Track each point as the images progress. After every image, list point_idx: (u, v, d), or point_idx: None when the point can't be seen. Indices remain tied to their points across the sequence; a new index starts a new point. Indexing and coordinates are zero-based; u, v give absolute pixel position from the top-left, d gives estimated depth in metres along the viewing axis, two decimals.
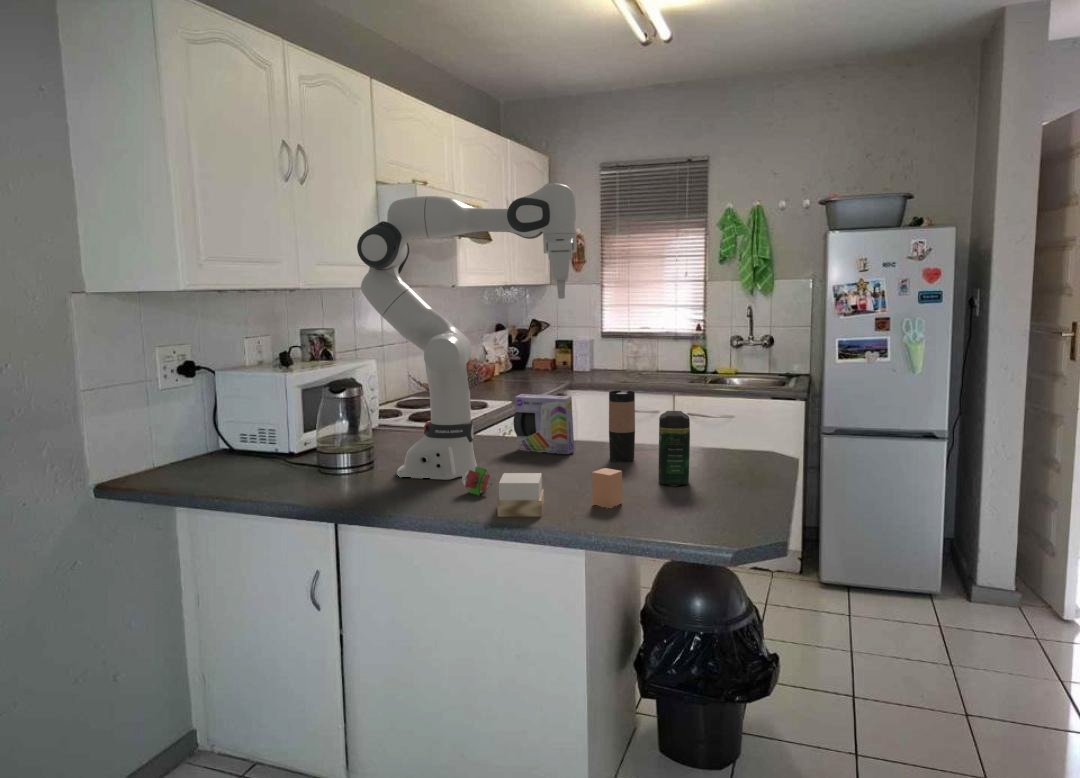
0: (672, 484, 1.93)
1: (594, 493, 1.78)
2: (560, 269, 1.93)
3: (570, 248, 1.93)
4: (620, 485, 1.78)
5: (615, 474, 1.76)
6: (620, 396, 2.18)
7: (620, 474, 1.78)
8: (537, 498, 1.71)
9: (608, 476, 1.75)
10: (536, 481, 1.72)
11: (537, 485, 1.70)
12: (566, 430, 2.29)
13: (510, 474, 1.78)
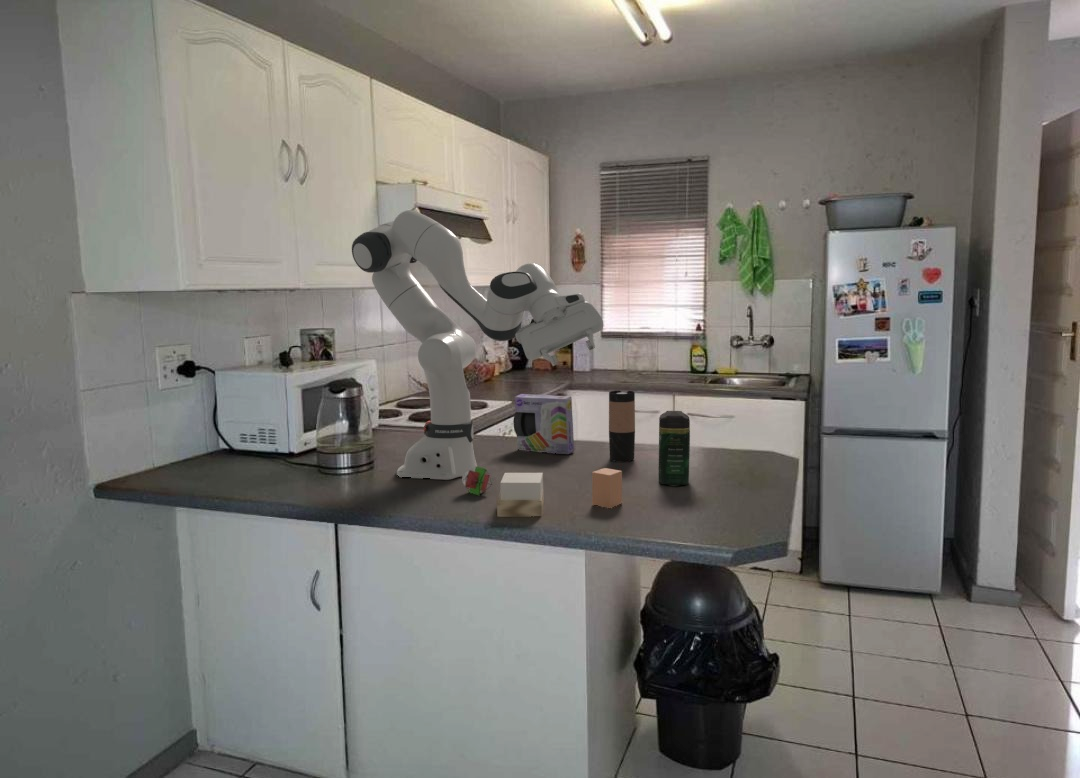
0: (672, 484, 1.93)
1: (594, 493, 1.78)
2: None
3: None
4: (620, 485, 1.78)
5: (615, 474, 1.76)
6: (620, 396, 2.18)
7: (620, 474, 1.78)
8: (538, 498, 1.71)
9: (608, 476, 1.75)
10: (537, 481, 1.72)
11: (539, 485, 1.70)
12: (566, 430, 2.29)
13: (511, 474, 1.78)
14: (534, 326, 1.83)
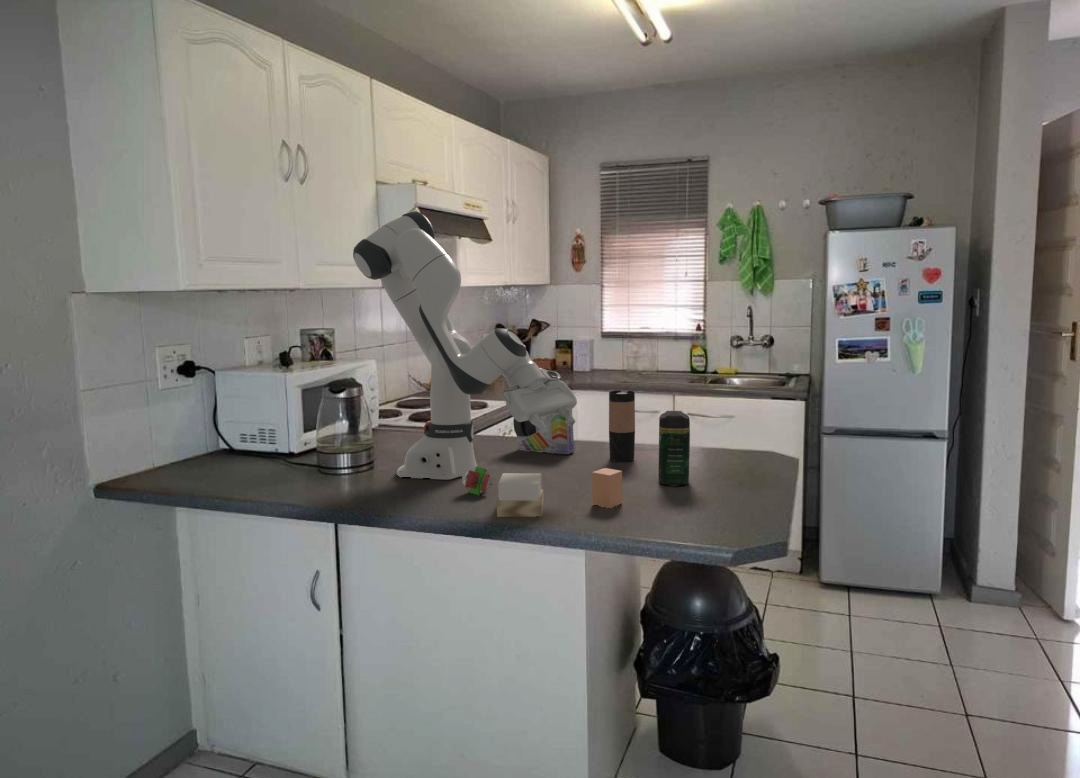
0: (672, 484, 1.93)
1: (594, 493, 1.78)
2: None
3: None
4: (620, 485, 1.78)
5: (615, 474, 1.76)
6: (620, 396, 2.18)
7: (620, 474, 1.78)
8: (536, 498, 1.71)
9: (608, 476, 1.75)
10: (535, 481, 1.71)
11: (536, 485, 1.70)
12: (566, 430, 2.29)
13: (509, 474, 1.78)
14: (523, 390, 1.83)
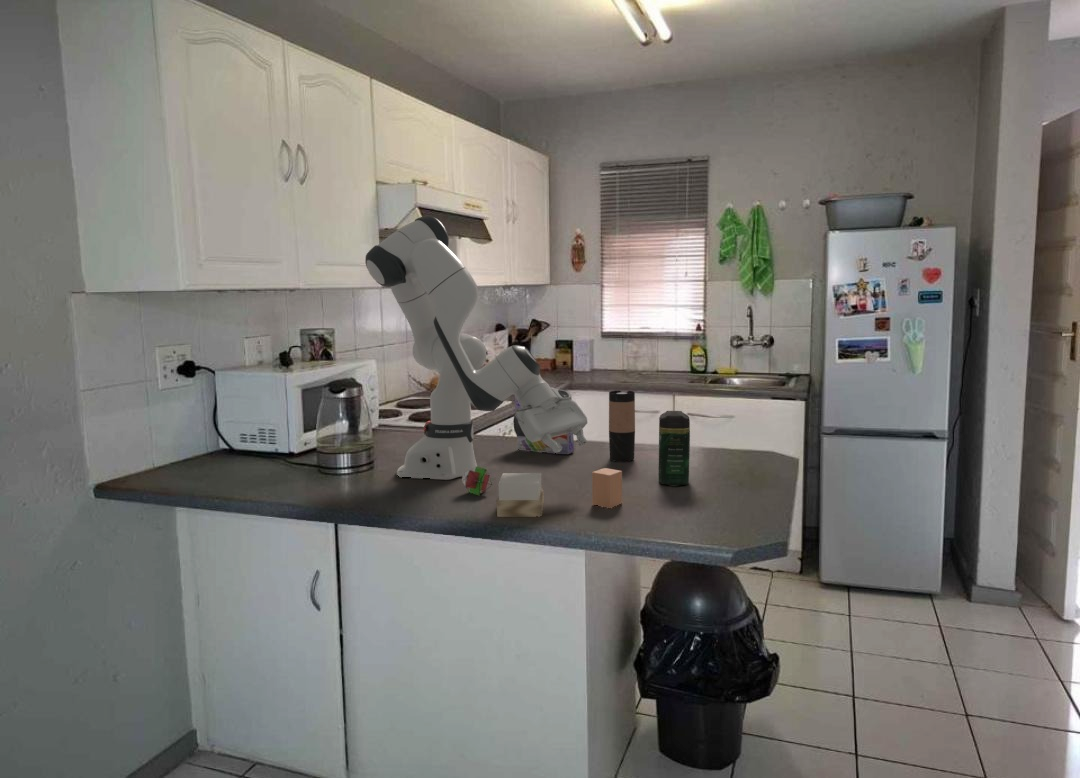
0: (672, 484, 1.93)
1: (594, 493, 1.78)
2: None
3: None
4: (620, 485, 1.78)
5: (615, 474, 1.76)
6: (620, 396, 2.18)
7: (620, 474, 1.78)
8: (537, 498, 1.71)
9: (608, 476, 1.75)
10: (536, 481, 1.71)
11: (537, 485, 1.70)
12: None
13: (509, 474, 1.78)
14: (535, 409, 1.82)
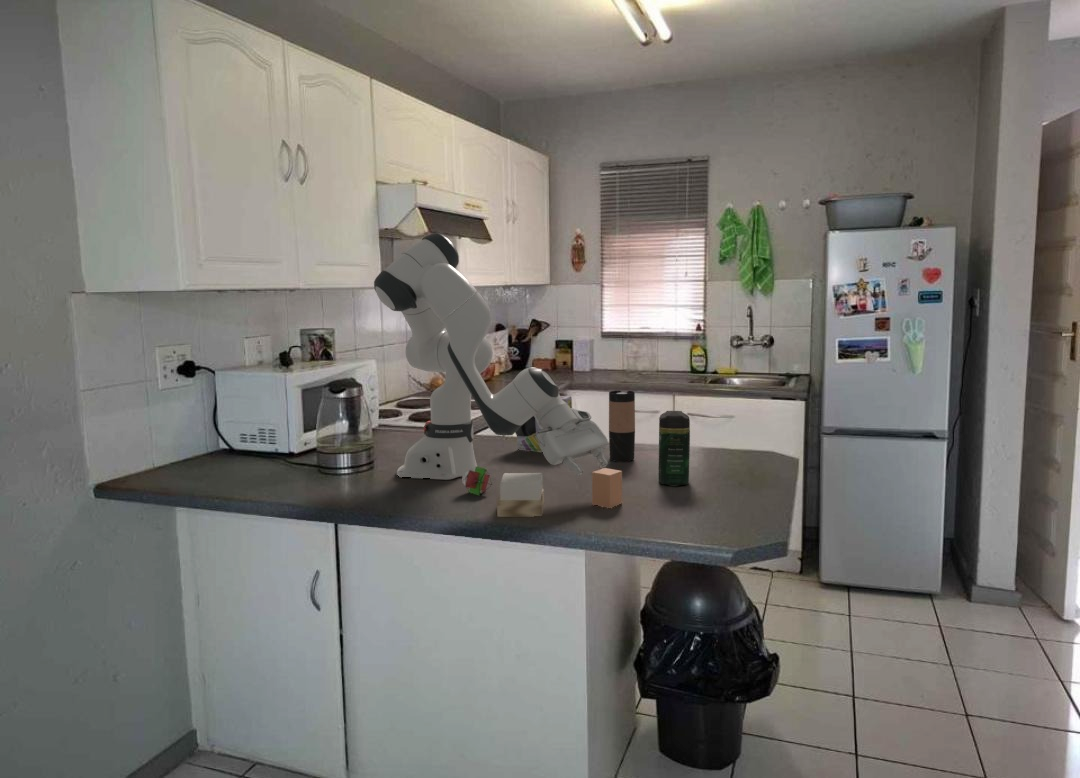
0: (672, 484, 1.93)
1: (594, 493, 1.78)
2: None
3: None
4: (620, 485, 1.78)
5: (615, 474, 1.76)
6: (620, 396, 2.18)
7: (620, 474, 1.78)
8: (538, 498, 1.71)
9: (608, 476, 1.75)
10: (537, 481, 1.72)
11: (538, 485, 1.70)
12: None
13: (511, 474, 1.78)
14: (556, 431, 1.79)
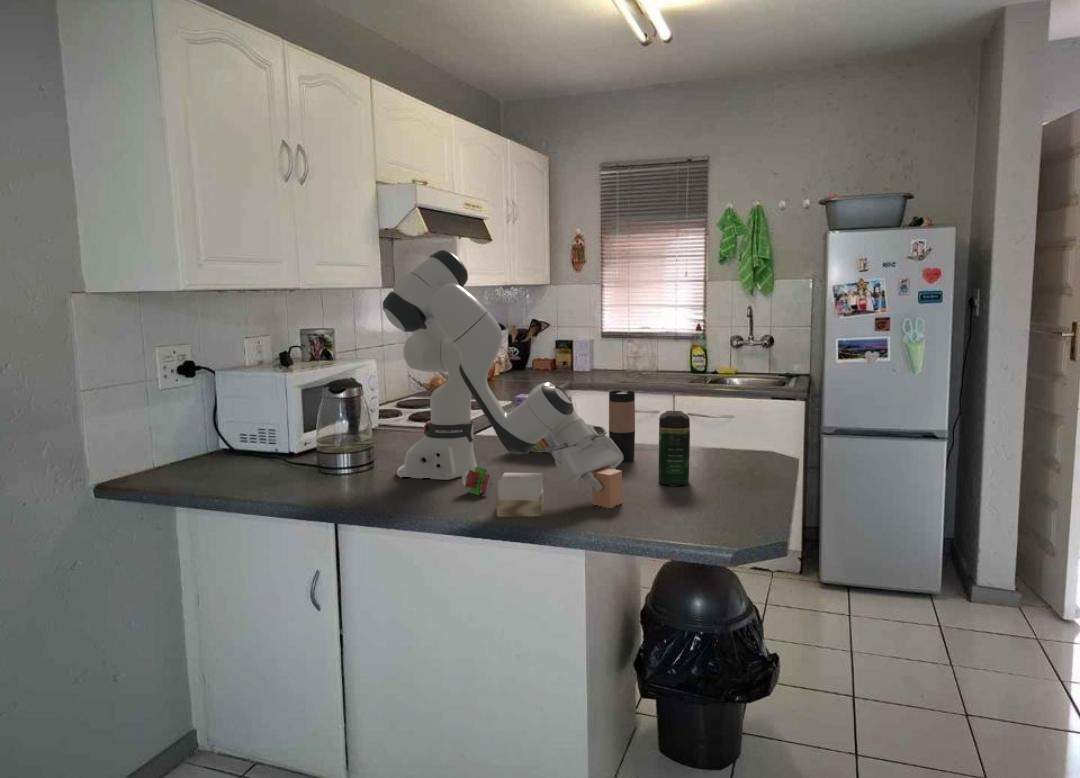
0: (672, 484, 1.93)
1: (594, 493, 1.78)
2: None
3: None
4: (620, 485, 1.78)
5: (615, 474, 1.76)
6: (620, 396, 2.18)
7: (620, 474, 1.78)
8: (536, 498, 1.71)
9: (608, 476, 1.75)
10: (535, 481, 1.71)
11: (536, 485, 1.70)
12: None
13: (511, 474, 1.78)
14: (572, 448, 1.77)
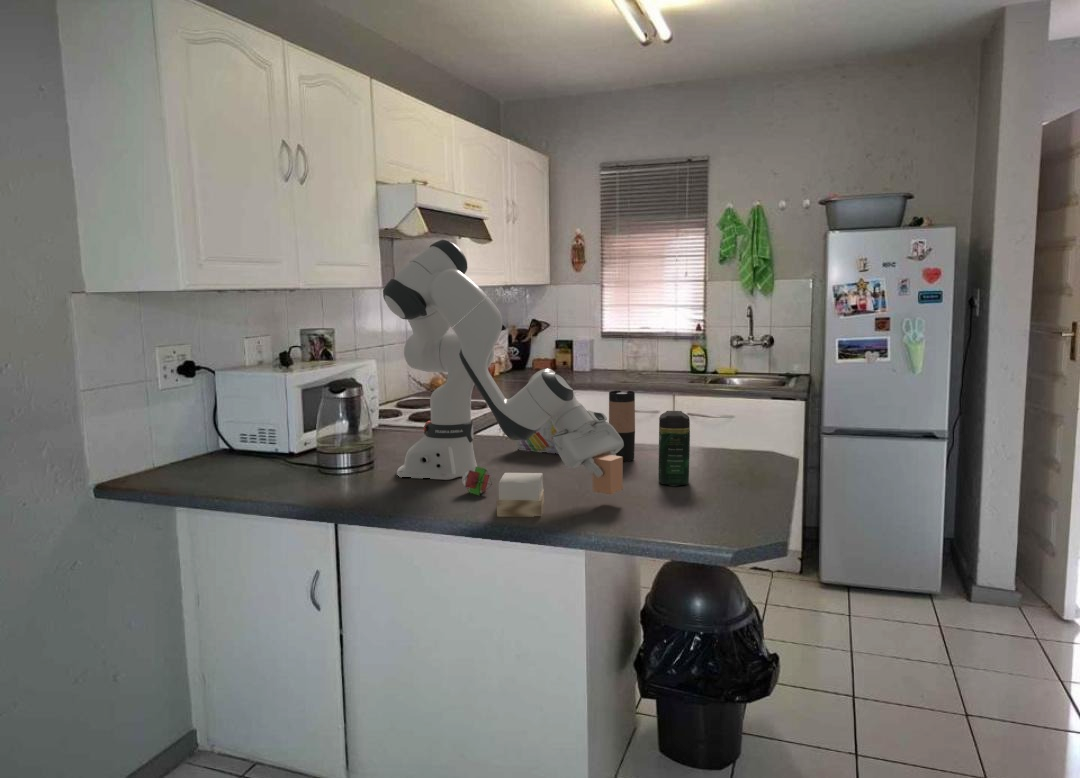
0: (672, 484, 1.93)
1: (595, 479, 1.78)
2: None
3: None
4: (621, 471, 1.78)
5: (616, 460, 1.76)
6: (620, 396, 2.18)
7: (621, 460, 1.78)
8: (537, 498, 1.71)
9: (609, 462, 1.75)
10: (536, 481, 1.72)
11: (537, 485, 1.70)
12: None
13: (511, 474, 1.79)
14: (573, 434, 1.77)
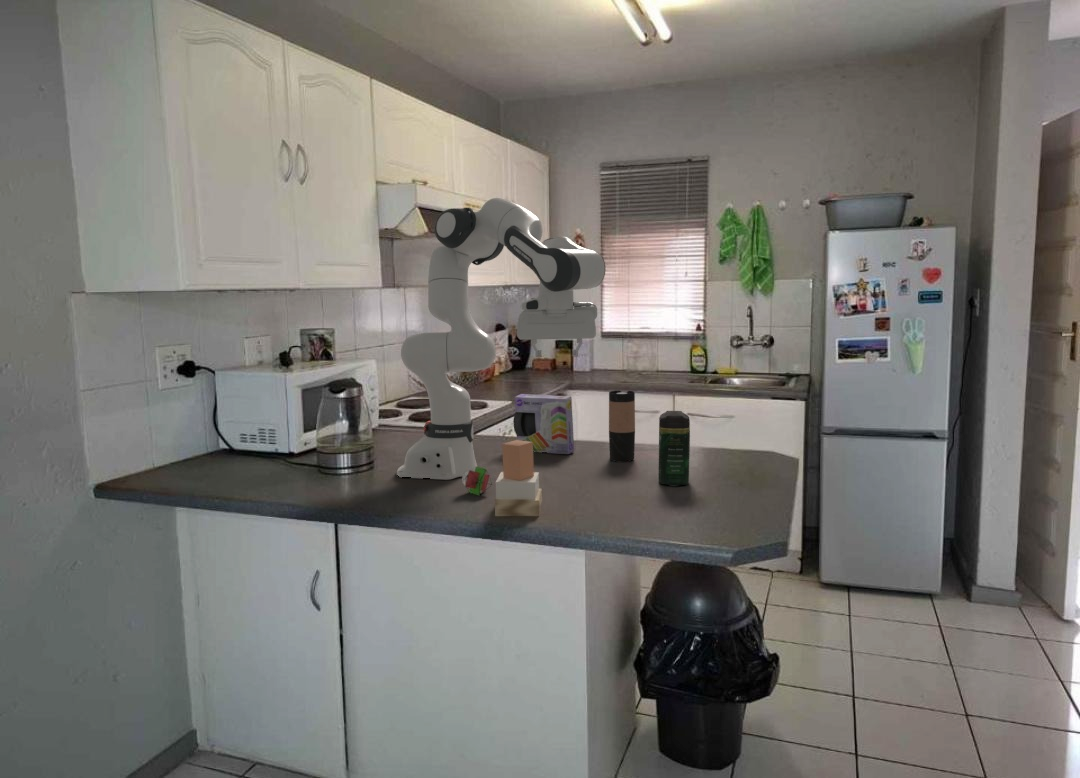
0: (672, 484, 1.93)
1: (505, 465, 1.74)
2: None
3: (522, 308, 1.91)
4: (531, 456, 1.75)
5: (525, 445, 1.73)
6: (620, 396, 2.18)
7: (531, 445, 1.75)
8: (533, 497, 1.71)
9: (518, 447, 1.71)
10: (533, 480, 1.72)
11: (533, 484, 1.71)
12: (566, 430, 2.29)
13: None
14: None
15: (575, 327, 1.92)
